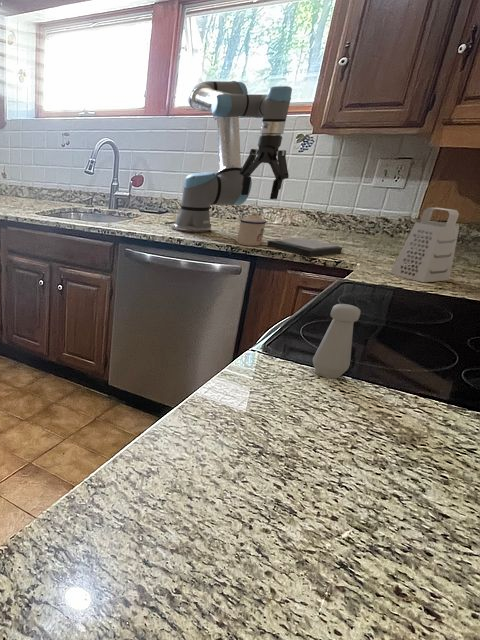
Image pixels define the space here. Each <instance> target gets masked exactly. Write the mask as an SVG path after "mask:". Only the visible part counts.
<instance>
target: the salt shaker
mask: <svg viewBox="0 0 480 640" xmlns="http://www.w3.org/2000/svg"><path fill="white" fill-rule="evenodd" d="M360 316H361V309H360V308H359V307H357V306H355V305H352V304H348V303H347V304H346V303H337V304H335V305H333V306H332V308H331V311H330V317H331V318H332V320H331V322H330V324H329V326H328V327H327V330H326V332H325V333H324V336H323V337H322V339H321V342H320V343H319V346H318V348H317V350H316V352H315V354H314V355H313V357H312V364H313V368H314V372H315V374H316V375H318V376H319V377H320V376H321V377H323V378H325V379H335V380H337V379H339V378H340V377H341V376H342V375H343V374H344V373H345V372H346V371H348V370H349V367H350V366H351V360H352V359H351V357H352V346H353V345H352V344H353V334H354V324H355V322H358V321H359V319H360Z"/></svg>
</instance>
